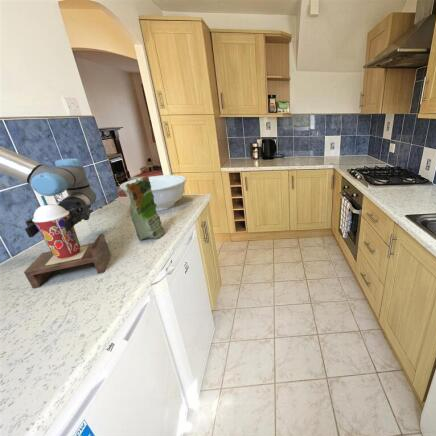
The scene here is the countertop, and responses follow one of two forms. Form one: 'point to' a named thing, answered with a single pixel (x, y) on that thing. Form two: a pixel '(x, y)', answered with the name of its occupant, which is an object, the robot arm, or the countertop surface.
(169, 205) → the bowl
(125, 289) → the countertop surface
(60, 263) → the shelf
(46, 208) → the smoothie
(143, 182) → the pouch
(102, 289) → the countertop surface
